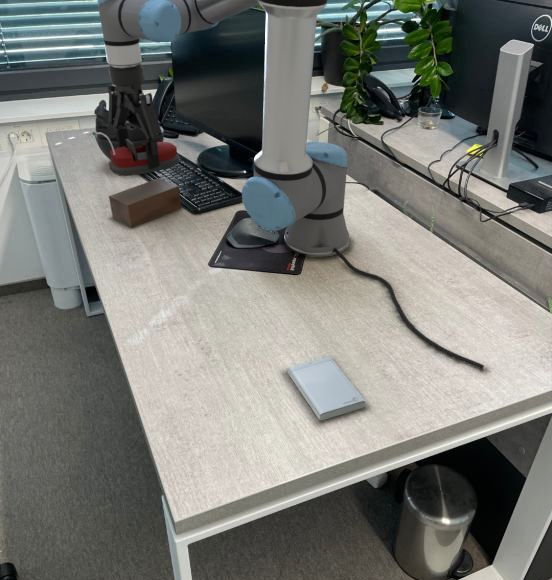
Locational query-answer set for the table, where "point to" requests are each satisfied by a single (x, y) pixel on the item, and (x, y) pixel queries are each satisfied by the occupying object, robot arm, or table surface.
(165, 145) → the bumper car
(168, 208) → the walnut block
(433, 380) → the table surface
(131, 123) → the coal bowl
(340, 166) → the robot arm
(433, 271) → the table surface
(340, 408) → the hard drive
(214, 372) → the table surface
